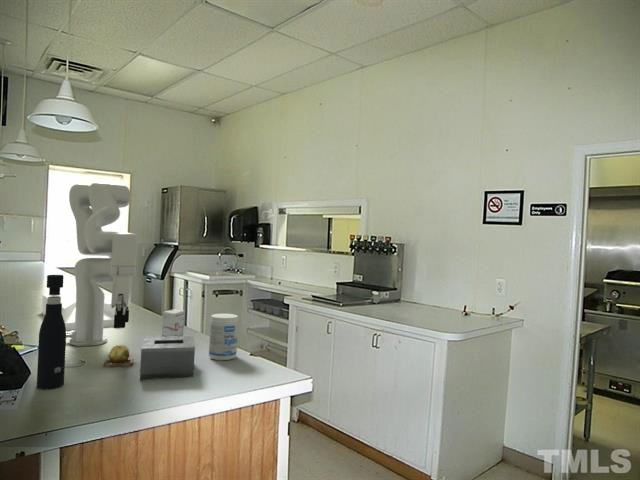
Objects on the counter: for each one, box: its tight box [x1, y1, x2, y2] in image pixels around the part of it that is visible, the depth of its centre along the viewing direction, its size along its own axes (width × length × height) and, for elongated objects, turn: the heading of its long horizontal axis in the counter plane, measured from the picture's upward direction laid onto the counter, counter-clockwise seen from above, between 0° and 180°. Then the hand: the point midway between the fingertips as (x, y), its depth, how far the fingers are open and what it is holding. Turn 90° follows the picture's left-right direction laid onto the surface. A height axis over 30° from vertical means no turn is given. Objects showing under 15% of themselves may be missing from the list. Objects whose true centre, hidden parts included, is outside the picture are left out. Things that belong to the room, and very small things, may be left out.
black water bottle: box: [36, 274, 67, 390], centre depth 121 cm, size 6×6×30 cm
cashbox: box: [139, 335, 196, 381], centre depth 139 cm, size 15×15×9 cm
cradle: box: [102, 357, 135, 368], centre depth 143 cm, size 8×5×1 cm, turn 108°
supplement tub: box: [208, 313, 239, 361], centre depth 157 cm, size 10×10×15 cm
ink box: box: [161, 308, 186, 336], centre depth 176 cm, size 9×5×12 cm, turn 168°
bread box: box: [41, 293, 116, 332], centre depth 207 cm, size 45×22×10 cm, turn 42°
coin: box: [108, 344, 131, 363], centre depth 143 cm, size 3×6×6 cm, turn 108°
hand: (121, 325), depth 142 cm, fingers open, 9 cm apart
